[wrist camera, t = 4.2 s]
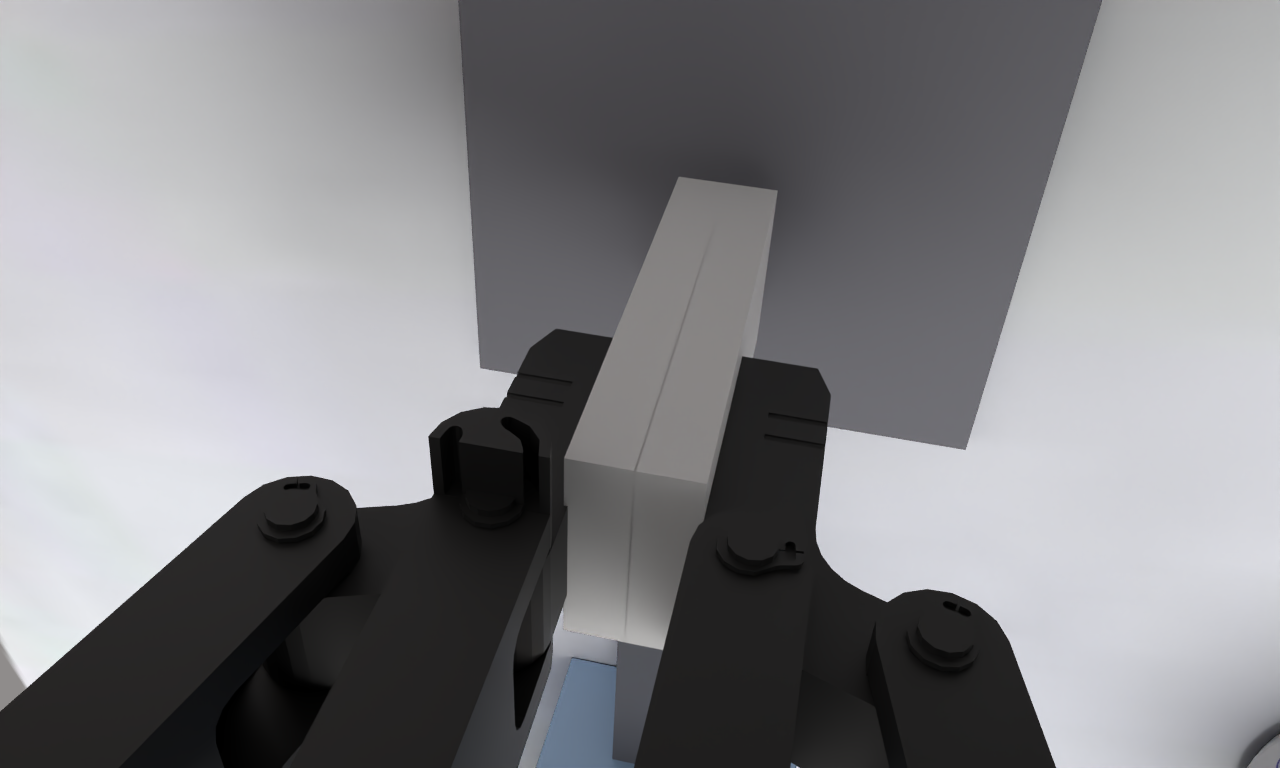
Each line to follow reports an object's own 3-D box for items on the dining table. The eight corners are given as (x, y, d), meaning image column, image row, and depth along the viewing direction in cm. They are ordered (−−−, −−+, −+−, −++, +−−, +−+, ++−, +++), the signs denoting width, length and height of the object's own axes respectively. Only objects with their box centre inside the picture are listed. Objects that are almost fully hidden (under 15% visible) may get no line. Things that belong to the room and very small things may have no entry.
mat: (461, -82, 16) (454, -77, 16) (1101, -13, 14) (1103, -6, 14) (485, 358, 21) (480, 368, 20) (964, 439, 19) (965, 449, 19)
